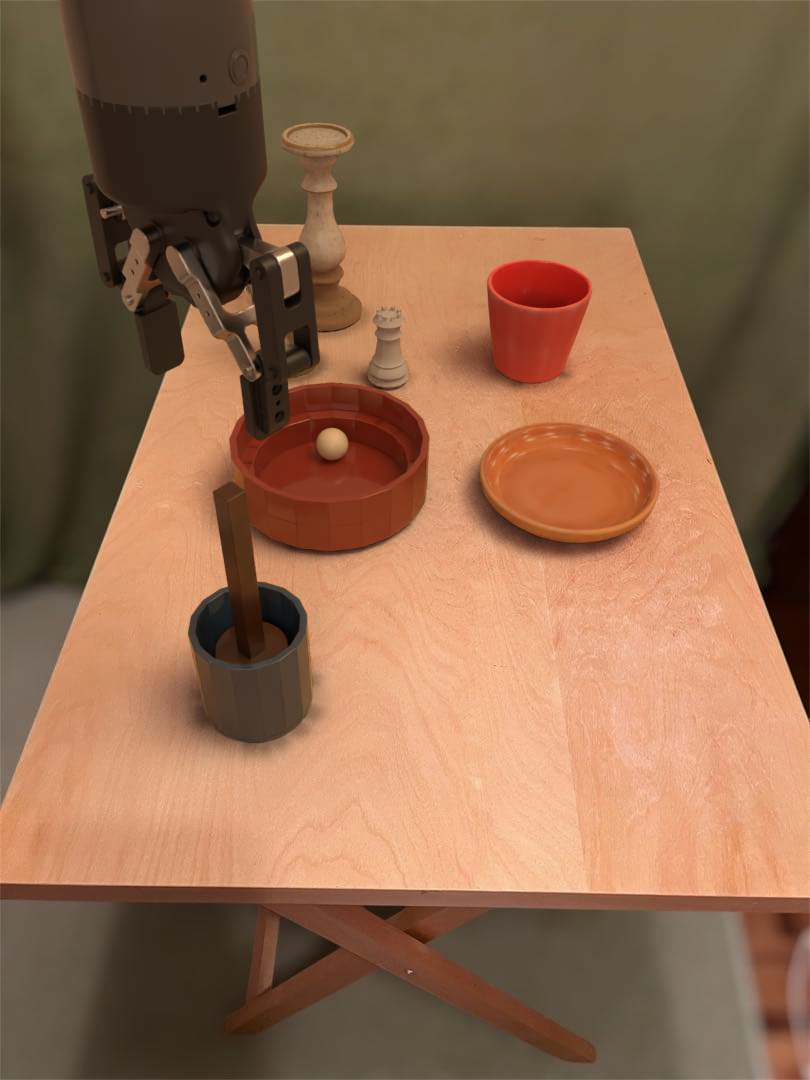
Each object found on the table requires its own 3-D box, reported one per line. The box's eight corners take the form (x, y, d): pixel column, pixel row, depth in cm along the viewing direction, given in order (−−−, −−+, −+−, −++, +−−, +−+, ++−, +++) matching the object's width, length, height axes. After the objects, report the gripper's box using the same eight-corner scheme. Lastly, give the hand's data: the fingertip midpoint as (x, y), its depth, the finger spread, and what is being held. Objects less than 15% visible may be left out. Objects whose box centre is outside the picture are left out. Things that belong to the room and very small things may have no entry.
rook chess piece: (394, 395, 95) (395, 327, 89) (359, 382, 97) (357, 314, 91) (416, 375, 98) (419, 308, 92) (381, 363, 99) (382, 296, 94)
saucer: (518, 427, 91) (521, 402, 89) (674, 477, 86) (681, 452, 84) (447, 519, 81) (449, 493, 79) (620, 583, 76) (626, 557, 73)
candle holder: (271, 316, 106) (255, 136, 93) (319, 288, 112) (311, 113, 98) (329, 340, 103) (322, 156, 89) (376, 310, 108) (377, 132, 94)
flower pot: (597, 379, 98) (613, 297, 91) (506, 400, 95) (516, 315, 88) (549, 332, 105) (561, 252, 98) (463, 349, 102) (469, 268, 95)
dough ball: (332, 470, 85) (331, 444, 83) (310, 457, 86) (308, 431, 84) (355, 456, 86) (354, 430, 84) (333, 443, 88) (331, 417, 86)
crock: (252, 762, 62) (240, 689, 57) (181, 699, 66) (164, 625, 60) (334, 695, 66) (331, 622, 61) (264, 639, 70) (254, 565, 65)
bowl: (329, 585, 75) (327, 531, 70) (198, 491, 83) (188, 438, 79) (464, 489, 84) (469, 436, 80) (334, 413, 92) (332, 362, 88)
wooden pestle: (254, 734, 63) (222, 531, 50) (208, 694, 66) (167, 491, 53) (307, 692, 66) (290, 489, 53) (261, 655, 68) (234, 453, 55)
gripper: (-7, 50, 39) (78, 375, 50) (203, 135, 32) (248, 490, 43) (140, 19, 43) (188, 325, 54) (354, 88, 36) (360, 423, 47)
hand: (215, 398), depth 49 cm, fingers open, 8 cm apart
